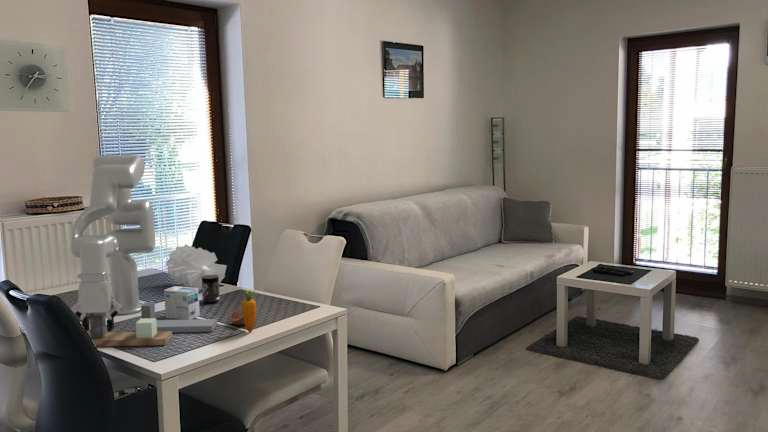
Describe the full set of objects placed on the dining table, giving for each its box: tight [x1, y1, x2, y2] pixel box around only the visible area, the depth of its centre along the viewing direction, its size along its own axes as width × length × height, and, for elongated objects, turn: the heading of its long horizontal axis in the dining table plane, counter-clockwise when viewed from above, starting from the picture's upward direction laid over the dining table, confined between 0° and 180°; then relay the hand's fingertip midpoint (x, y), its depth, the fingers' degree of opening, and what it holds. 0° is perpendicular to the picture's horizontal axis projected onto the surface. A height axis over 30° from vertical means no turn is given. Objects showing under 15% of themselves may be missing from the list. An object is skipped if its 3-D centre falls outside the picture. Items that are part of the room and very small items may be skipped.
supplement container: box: [201, 275, 221, 305], centre depth 261 cm, size 7×7×10 cm
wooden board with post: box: [89, 313, 173, 347], centre depth 213 cm, size 24×8×9 cm, turn 92°
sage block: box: [135, 317, 157, 338], centre depth 213 cm, size 5×5×5 cm
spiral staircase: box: [165, 243, 228, 292], centre depth 285 cm, size 18×18×25 cm
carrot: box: [241, 289, 257, 333], centre depth 222 cm, size 5×5×15 cm
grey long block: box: [140, 301, 218, 333], centre depth 226 cm, size 24×8×9 cm, turn 92°
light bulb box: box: [163, 285, 201, 320], centre depth 241 cm, size 11×7×11 cm, turn 71°
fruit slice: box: [228, 308, 245, 326], centre depth 231 cm, size 8×7×5 cm
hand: (98, 330), depth 213 cm, fingers open, 7 cm apart
